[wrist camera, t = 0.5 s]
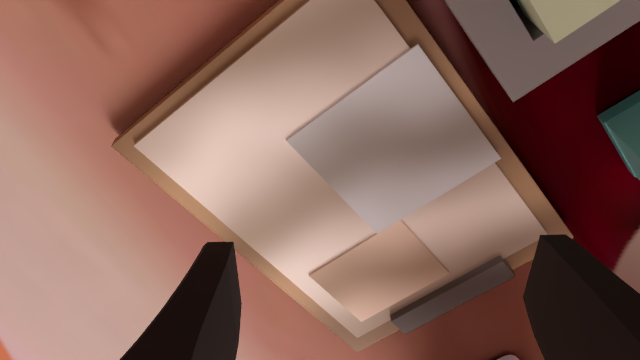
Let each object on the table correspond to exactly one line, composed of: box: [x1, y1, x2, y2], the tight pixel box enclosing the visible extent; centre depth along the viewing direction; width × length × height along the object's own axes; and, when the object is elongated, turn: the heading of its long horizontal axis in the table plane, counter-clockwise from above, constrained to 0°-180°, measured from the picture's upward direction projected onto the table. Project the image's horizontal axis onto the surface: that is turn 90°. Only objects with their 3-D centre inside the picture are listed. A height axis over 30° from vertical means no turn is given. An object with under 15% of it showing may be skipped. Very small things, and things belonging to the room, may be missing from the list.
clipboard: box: [112, 0, 574, 352], centre depth 23 cm, size 16×12×1 cm
